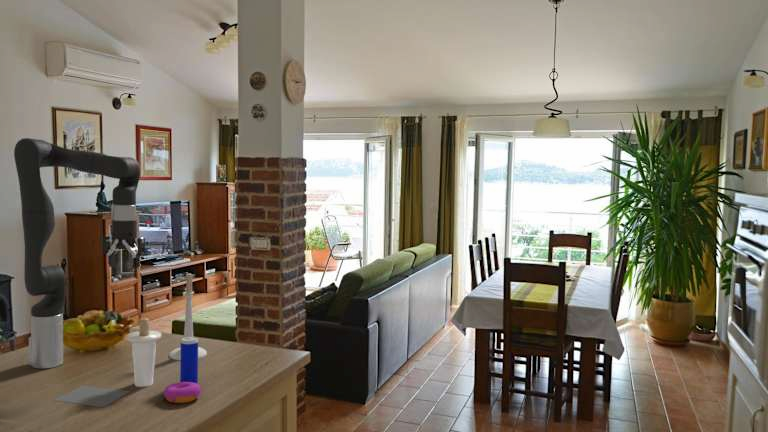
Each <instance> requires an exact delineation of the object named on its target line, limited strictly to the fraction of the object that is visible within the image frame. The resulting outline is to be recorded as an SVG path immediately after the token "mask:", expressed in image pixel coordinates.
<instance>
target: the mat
mask: <svg viewBox="0 0 768 432" xmlns="http://www.w3.org/2000/svg"><path fill="white" fill-rule="evenodd" d="M129 393H130V391H129V390H128V391H127V390H120V389H111V388H104V387H97V386H91V385H90V386H88V385H81V386H79V387H78V388H75V389H73V390H71V391H70V392H67V393H65V394H63V395H61V396H59V397H58V398H57V397H56V398H55V399H53V401H55V402H63V403H69V404H77V405H82V406H83V405H85V406H92V407H98V408H99V407H100V408H105V407H106V406H108V405H110V404H111V403H113V402H115V401H117V400H118V399H120V398H122V397H124V396H125V395H127V394H129Z"/></svg>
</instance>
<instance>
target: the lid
mask: <svg viewBox="0 0 768 432" xmlns="http://www.w3.org/2000/svg"><path fill="white" fill-rule="evenodd" d="M138 322H139V323H138V325H139V326H138V328H139V329H138V330H139V331H133V332H130V333H128V334H126V336H125V337H126V339H125V340H126V341H127V342H130V343H147V342H153V341H156V342H157V341H158V340H161V339H162V333H161V331H157V330H150V318H149V317H142V318H139V320H138Z"/></svg>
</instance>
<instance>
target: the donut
mask: <svg viewBox="0 0 768 432" xmlns="http://www.w3.org/2000/svg"><path fill="white" fill-rule="evenodd" d="M201 393H202V388H201V386H200V385H199V383H198V384H197V383H193V382H176V383H172V384H169V385H168V386H166V387H165V389H164V391H163V396H164V397H165V400H167V401H168V402H170V403H173V404H187V403H190V402H192V401H194V400H196V399H197V398H198V397H200V395H201Z"/></svg>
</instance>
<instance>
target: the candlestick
mask: <svg viewBox="0 0 768 432" xmlns="http://www.w3.org/2000/svg"><path fill="white" fill-rule="evenodd" d="M185 277H186V278H185V279H186V281H185V282H186V283H185V284H186V286H185V289H186V290H185V291H184V292H183V294H184V295H185V296H184V298H185V300H186V302H185V317H184V330H183V338H184V337H194V324H193V302H192V299H193V298H194V294H195V292H194V291H193V274H192V273H187V274H186V276H185ZM207 355H208V352H207V350H206V349H204V348H203V347H200V346H198V360H199V359H202V358H205V357H206V356H207ZM169 358H170V359H172V360H175V361H181V346H180V347H178V348H175V349H173V350H172V351H171V352H170V353H169Z"/></svg>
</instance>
